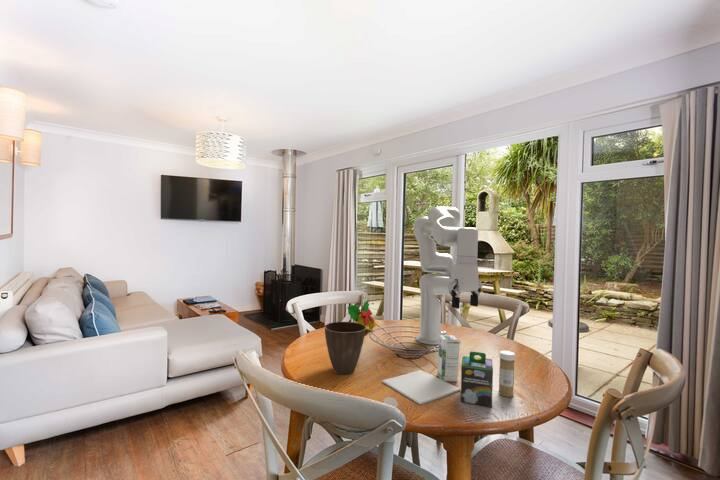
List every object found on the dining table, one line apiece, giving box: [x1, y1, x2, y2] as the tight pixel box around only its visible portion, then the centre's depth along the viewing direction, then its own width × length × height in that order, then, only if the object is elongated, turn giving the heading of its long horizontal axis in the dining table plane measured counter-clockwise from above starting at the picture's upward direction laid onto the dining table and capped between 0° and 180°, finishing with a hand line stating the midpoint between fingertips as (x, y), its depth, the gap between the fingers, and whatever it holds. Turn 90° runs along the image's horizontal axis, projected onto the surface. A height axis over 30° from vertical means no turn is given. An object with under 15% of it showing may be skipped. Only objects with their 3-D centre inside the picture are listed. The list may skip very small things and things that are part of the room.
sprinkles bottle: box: [497, 350, 516, 398], centre depth 111 cm, size 5×5×13 cm
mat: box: [381, 369, 461, 406], centre depth 115 cm, size 18×18×1 cm
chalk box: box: [460, 351, 494, 408], centre depth 107 cm, size 9×9×15 cm
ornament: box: [347, 299, 378, 332], centre depth 176 cm, size 21×8×15 cm, turn 149°
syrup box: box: [437, 334, 461, 382], centre depth 122 cm, size 6×6×14 cm
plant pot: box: [324, 321, 366, 375], centre depth 126 cm, size 15×15×16 cm
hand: (464, 306), depth 129 cm, fingers open, 9 cm apart
